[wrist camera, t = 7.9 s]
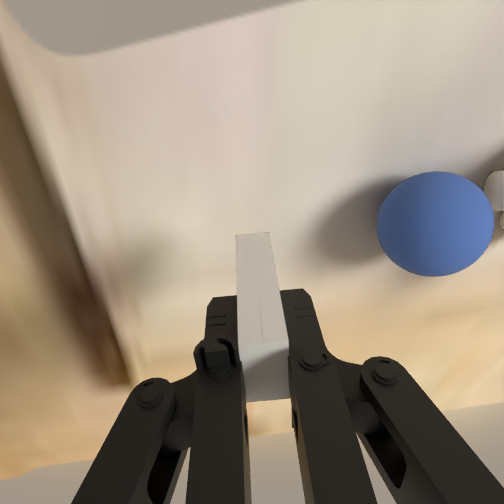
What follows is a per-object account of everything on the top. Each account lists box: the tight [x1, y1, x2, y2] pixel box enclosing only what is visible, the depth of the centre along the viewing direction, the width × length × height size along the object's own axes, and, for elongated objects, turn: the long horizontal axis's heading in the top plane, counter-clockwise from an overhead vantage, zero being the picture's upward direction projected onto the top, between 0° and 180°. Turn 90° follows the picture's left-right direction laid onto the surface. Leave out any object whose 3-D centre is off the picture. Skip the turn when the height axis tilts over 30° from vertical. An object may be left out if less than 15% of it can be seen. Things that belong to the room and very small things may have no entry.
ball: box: [377, 172, 494, 277], centre depth 21 cm, size 6×6×6 cm
